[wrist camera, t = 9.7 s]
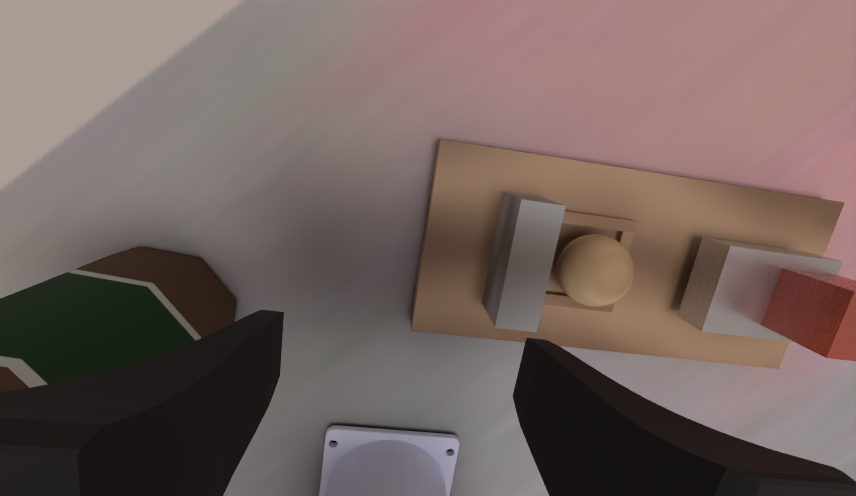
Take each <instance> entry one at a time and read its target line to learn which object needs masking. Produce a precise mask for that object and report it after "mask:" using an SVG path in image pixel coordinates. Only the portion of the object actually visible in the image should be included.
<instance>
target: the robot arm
mask: <svg viewBox="0 0 856 496" xmlns="http://www.w3.org/2000/svg"><path fill="white" fill-rule="evenodd" d="M283 317H284V312H277V311H268V310H260V311H257V312H255V313H253V314H251V315H249V316H246V317H244V318H242V319H240V320H238V321H236V322H234V323H232V324H230V325H228V326H226V327H224V328H222V329H220V330H218V331H216V332H214V333H212V334H210V335H207V336H205V337H203V338H201V339H198V340H196V341H194V342H191V343H189V344H187V345H185V346H182V347H180V348H177V349H175V350H172V351H170V352H167V353H164V354H162V355H159V356H156V357H153V358H150V359H147V360H144V361H141V362H138V363H135V364H131V365H128V366H124V367H120V368H116V369H113V370H109V371H105V372H101V373H97V374H94V375H90V376H86V377H81V378H77V379H72V380H67V381H63V382H58V383H53V384H47V385H42V386H36V387H31V388H25V389H19V390H12V391H5V392H0V496H223V495H224V492H225V490H226V488H227V486H228V484H229V482H230V480H231V477H232V475H233V474H234V472H235V470H236V468H237V466H238V464H239V462H240V460H241V458H242V456H243V455H244V453H245V451H246V449H247V447H248V445H249V443H250V441H251V439H252V437H253V436H254V434H255V432H256V430H257V428H258V426H259V424H260V422H261V420H262V418H263V416H264V414H265V412H266V410H267V408H268V406H269V404H270V401H271V399H272V396H273V393H274V391H275V388H276V385H277V382H278V379H279V376H280V365H281V349H282V333H283ZM513 399H514V403H515V407H516V411H517V415H518V419H519V422H520V426H521V428H522V431H523V434H524V436H525V438H526V441H527V443H528V446H529V448H530V451H531V453H532V455H533V458H534V460H535V463H536V465H537V467H538V470H539V472H540V474H541V477H542V479H543V482H544V484H545V486H546V489H547V491H548V494H549V496H856V482H855V481H854V480H853V479H852V478H850V477H849V476H848V475H846V474H845V473H844V472H842V471H840V470H838V469H836V468H834V467H831V466H827V465H824V464H820V463H817V462H813V461H810V460H806V459H803V458H799V457H795V456H792V455H788V454H785V453H781V452H778V451H774V450H771V449H768V448H765V447H762V446H759V445H756V444H753V443H750V442H747V441H744V440H741V439H738V438H735V437H733V436H730V435H727V434H725V433H722V432H719V431H717V430H714V429H712V428H709V427H707V426H704V425H702V424H699V423H697V422H695V421H692V420H690V419H687V418H685V417H683V416H681V415H678V414H676V413H674V412H672V411H670V410H668V409H666V408H664V407H662V406H659V405H657V404H655V403H653V402H651V401H649V400H647V399H645V398H644V397H642V396H640V395H638V394H636V393H634V392H632V391H631V390H629V389H627V388H626V387H624V386H622V385H620V384H619V383H617V382H615V381H613V380H612V379H610V378H609V377H607V376H605V375H604V374H602V373H600V372H599V371H597V370H596V369H594V368H592V367H591V366H589V365H588V364H586V363H585V362H583V361H582V360H580V359H578V358H577V357H575V356H574V355H572V354H571V353H569V352H567V351H566V350H564V349H563V348H561V347H559V346H558V345H556V344H554V343H552V342H550V341H548V340H544V339H535V338H527V339H526V343H525V347H524V351H523V355H522V360H521V364H520V368H519V372H518V376H517V380H516V385H515V389H514V393H513ZM331 440H335V441H337V442H336V443H332V442H331ZM448 449H453V450H452V451H447V450H448ZM458 450H459V439H458V437H457V436H456V435H453V434H441V433H428V432H415V431H402V430H389V429H376V428H363V427H350V426H337V425H334V426H331V427H329V428H328V429H327V432H326V435H325V445H324V455H323V464H322V474H321V484H320V493H319V496H450V491H451V486H452V481H453V476H454V471H455V466H456V461H457V455H458Z"/></svg>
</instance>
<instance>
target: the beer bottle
mask: <svg viewBox="0 0 856 496" xmlns="http://www.w3.org/2000/svg"><path fill="white" fill-rule="evenodd" d="M234 309H235V300H234V299H233V297H232V296H231V295H230V294H229V293H228V291H227V290H226V289H225V288H224V287H223V285H222V284H221V283H220V282H219V281H218V279H217V278H216V277H215V276H214V275H213V273H212V272H211V271H210V270H209V269H208V267H207V266H206V265H205V264H204V263H203V261H202V260H201V259H200V258H196V257H191V256H185V255H180V254H175V253H169V252H164V251H159V250H153V249H148V248H143V247H136V248H132V249H129V250H126V251H122V252H119V253H116V254H113V255H110V256H108V257H105V258H103V259H100V260H97V261H95V262H92V263H90V264H87V265H85V266H82V267H80V268H77V269H75V270H72V271H70V272H67V273H65V274H62V275H59V276H57V277H54V278H52V279H49V280H47V281H44V282H42V283H39V284H37V285H34V286H32V287H29V288H26V289H24V290H21V291H19V292H16V293H14V294H11V295H9V296H6V297H4V298H1V299H0V392H5V391H12V390H19V389H25V388H31V387H36V386H42V385H47V384H53V383H58V382H63V381H67V380H72V379H77V378H81V377H86V376H90V375H94V374H97V373H101V372H105V371H109V370H113V369H116V368H120V367H124V366H128V365H131V364H135V363H138V362H141V361H144V360H147V359H150V358H153V357H156V356H159V355H162V354H164V353H167V352H170V351H172V350H175V349H177V348H180V347H182V346H185V345H187V344H189V343H191V342H194V341H196V340H198V339H201V338H203V337H205V336H207V335H210V334H212V333H214V332H216V331H218V330H220V329H222V328H224V327H226V326H228V325H230V324H232V323H233V316H234Z"/></svg>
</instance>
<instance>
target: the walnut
mask: <svg viewBox="0 0 856 496" xmlns="http://www.w3.org/2000/svg"><path fill="white" fill-rule="evenodd" d="M556 272H557V279H558V281H559V284H560V286H561V288H562V289H563V291H564V292H565V293H566V294H567V295H568V296H569V297H570V298H571V299H573V300H574V301H576V302H578V303H580V304H583V305H587V306H594V307H598V306H605V305H609V304H612V303H614V302H616V301H618V300H619V299H620V298H622V297H623V296H624V295H625V294H626V293H627V291H628V290H629V288H630V287H631V285H632V282H633V278H634V264H633V260H632V258H631V256H630V254H629V252H628V251H627V249H626V248H625V247H624V246H623V245H622V244H621V243H619V242H618V241H617V240H615V239H613V238H611V237H608V236H605V235H599V234H590V235H585V236H581V237H578V238H576V239H574V240H573V241H571V242H570V243H569V244H568V245H567V246H566V247H565V248H564V249H563V250H562V252H561V254H560V256H559V258H558V261H557V266H556Z"/></svg>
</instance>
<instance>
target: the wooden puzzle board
mask: <svg viewBox="0 0 856 496" xmlns="http://www.w3.org/2000/svg"><path fill="white" fill-rule="evenodd" d="M843 205H844V202H837V201H831V200H824V199H818V198H812V197H805V196H799V195H793V194H786V193H780V192H774V191H767V190H761V189H754V188H748V187H742V186H735V185H729V184H723V183H716V182H710V181H704V180H697V179H691V178H684V177H678V176H672V175H665V174H659V173H653V172H646V171H640V170H634V169H627V168H621V167H614V166H608V165H602V164H595V163H589V162H583V161H576V160H570V159H564V158H557V157H551V156H544V155H538V154H532V153H525V152H519V151H513V150H506V149H500V148H494V147H487V146H481V145H474V144H468V143H462V142H455V141H449V140H443V139H438V144H437V150H436V157H435V164H434V170H433V177H432V184H431V190H430V197H429V204H428V210H427V217H426V223H425V230H424V237H423V243H422V250H421V257H420V263H419V270H418V277H417V283H416V290H415V296H414V303H413V310H412V316H411V330H412V331H422V332H431V333H441V334H450V335H460V336H469V337H479V338H489V339H498V340H508V341H517V342H526V339H527V338H535V339H544V340H548V341H550V342H552V343H554V344H556V345H558V346H565V347H575V348H584V349H594V350H604V351H613V352H623V353H632V354H642V355H651V356H661V357H671V358H680V359H690V360H699V361H709V362H718V363H728V364H738V365H747V366H757V367H766V368H776V369H779V366H780V364H781V361H782V359H783V356H784V354H785V351H786V349H787V346H788V344H789V341H780V340H772V339H763V338H754V337H745V336H736V335H727V334H719V333H710V332H701V331H700V330H698V329H697V328H695V327H693V326H692V325H690V324H688V323H687V322H685V321H684V320H682V319H680V318H679V317H677V316H678V313H679V309H680V306H681V303H682V300H683V297H684V294H685V291H686V288H687V284H688V281H689V278H690V275H691V272H692V269H693V266H694V263H695V259H696V256H697V253H698V250H699V247H700V244H701V241H702V238H711V239H718V240H725V241H732V242H739V243H746V244H753V245H760V246H768V247H775V248H782V249H789V250H796V251H803V252H808V253H812V254H816V255H820V256H824V253H825V251H826V248H827V246H828V243H829V241H830V238H831V236H832V233H833V231H834V228H835V226H836V223H837V220H838V218H839V215H840V213H841V210H842V208H843ZM590 234H599V235H605V236H608V237H611V238H613V239H615V240H617V241H618V242H619V243H621V244H622V245H623V246H624V247H625V248H626V249H627V251H628V252H629V254H630V256H631V258H632V260H633V264H634V278H633V282H632V285H631V287H630V288H629V290H628V291H627V293H626V294H625V295H624V296H623V297H622V298H620V299H619V300H618V301H616V302H614V303H612V304H609V305H605V306H598V307H594V306H587V305H583V304H580V303H578V302H576V301H574V300H573V299H571V298H570V297H569V296H568V295H567V294H566V293H565V292H564V291H563V289H562V288H561V286H560V284H559V281H558V279H557V272H556V266H557V261H558V258H559V256H560V254H561V252H562V250H563V249H564V248H565V247H566V246H567V245H568V244H569V243H570V242H571V241H573V240H574V239H576V238H578V237H581V236H585V235H590Z"/></svg>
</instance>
